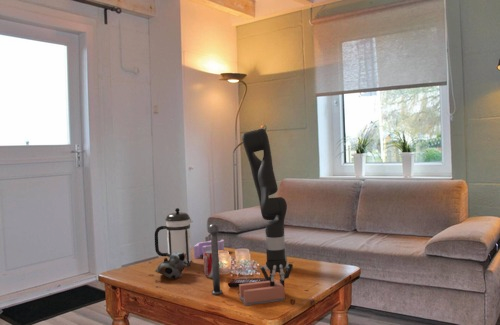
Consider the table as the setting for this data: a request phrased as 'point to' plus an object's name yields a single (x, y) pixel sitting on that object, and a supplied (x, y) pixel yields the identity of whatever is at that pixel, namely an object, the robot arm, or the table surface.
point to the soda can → (208, 264)
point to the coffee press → (176, 235)
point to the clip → (206, 248)
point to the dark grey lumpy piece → (173, 266)
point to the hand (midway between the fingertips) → (277, 289)
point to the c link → (261, 291)
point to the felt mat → (260, 301)
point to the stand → (215, 259)
